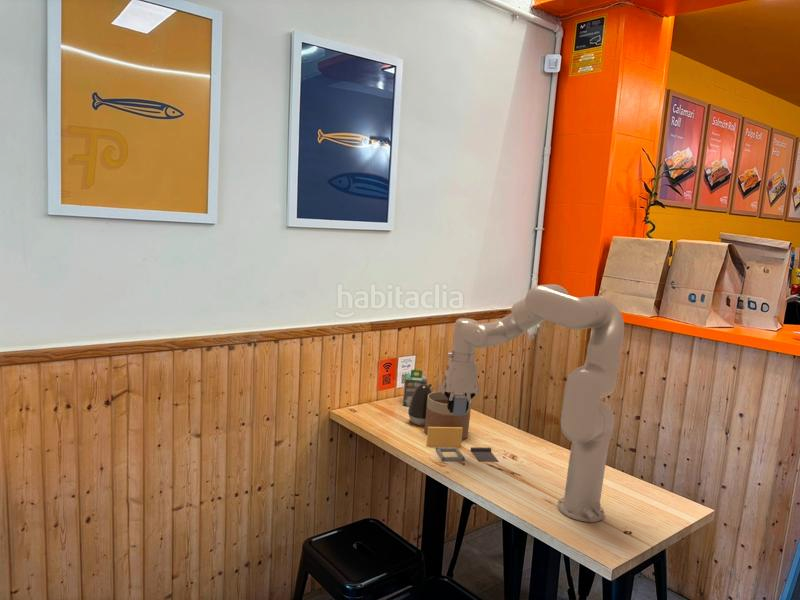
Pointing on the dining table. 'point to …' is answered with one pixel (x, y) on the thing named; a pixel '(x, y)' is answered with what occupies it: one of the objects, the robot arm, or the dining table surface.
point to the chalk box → (412, 385)
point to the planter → (444, 414)
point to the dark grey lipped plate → (483, 454)
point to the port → (445, 441)
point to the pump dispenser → (419, 404)
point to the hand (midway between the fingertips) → (457, 411)
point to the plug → (459, 404)
